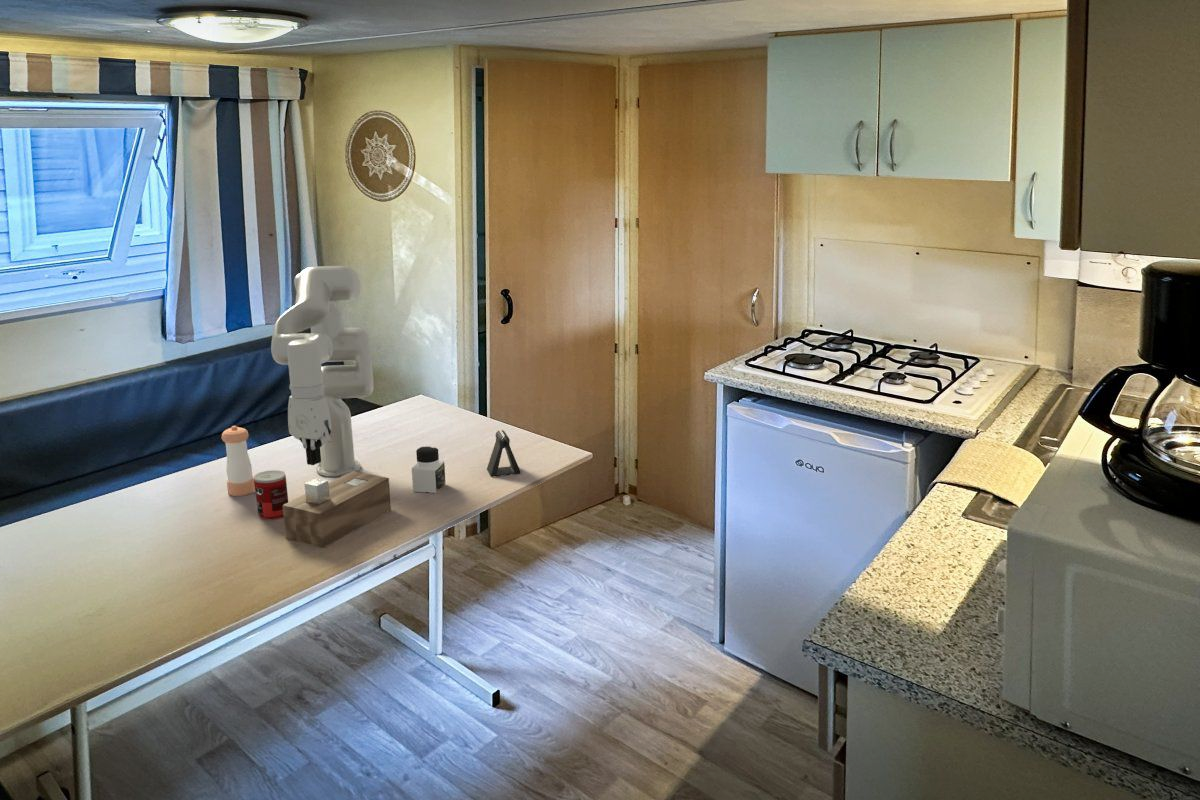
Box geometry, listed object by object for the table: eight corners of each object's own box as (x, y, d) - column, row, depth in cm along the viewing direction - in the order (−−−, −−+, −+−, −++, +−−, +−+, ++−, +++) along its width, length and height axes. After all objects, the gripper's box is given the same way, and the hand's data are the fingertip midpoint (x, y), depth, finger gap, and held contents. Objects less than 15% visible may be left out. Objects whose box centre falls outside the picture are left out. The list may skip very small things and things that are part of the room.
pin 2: (347, 511, 253) (344, 483, 250) (357, 506, 256) (354, 478, 254) (359, 514, 251) (356, 485, 248) (369, 509, 254) (366, 480, 252)
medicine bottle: (437, 493, 267) (434, 453, 263) (412, 492, 268) (410, 451, 265) (445, 484, 273) (443, 444, 270) (422, 482, 275) (419, 443, 271)
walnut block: (286, 538, 239) (282, 505, 237) (355, 501, 261) (353, 470, 259) (323, 547, 234) (319, 513, 231) (391, 509, 256) (388, 478, 254)
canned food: (262, 509, 257) (257, 470, 254) (292, 507, 258) (288, 469, 255) (254, 520, 250) (249, 481, 247) (286, 519, 250) (281, 480, 247)
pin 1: (307, 513, 239) (304, 483, 237) (318, 507, 243) (315, 478, 240) (319, 516, 237) (316, 486, 235) (330, 510, 241) (328, 480, 238)
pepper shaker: (261, 488, 271) (253, 424, 265) (241, 497, 265) (233, 431, 259) (241, 484, 274) (233, 420, 268) (222, 493, 268) (213, 428, 262)
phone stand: (516, 466, 287) (515, 428, 283) (520, 473, 281) (519, 434, 278) (486, 470, 284) (485, 431, 281) (490, 477, 279) (488, 438, 275)
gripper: (272, 391, 231) (280, 463, 236) (320, 398, 224) (327, 472, 229) (295, 384, 237) (302, 454, 242) (342, 390, 231) (348, 463, 236)
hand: (314, 463), depth 236 cm, fingers closed
